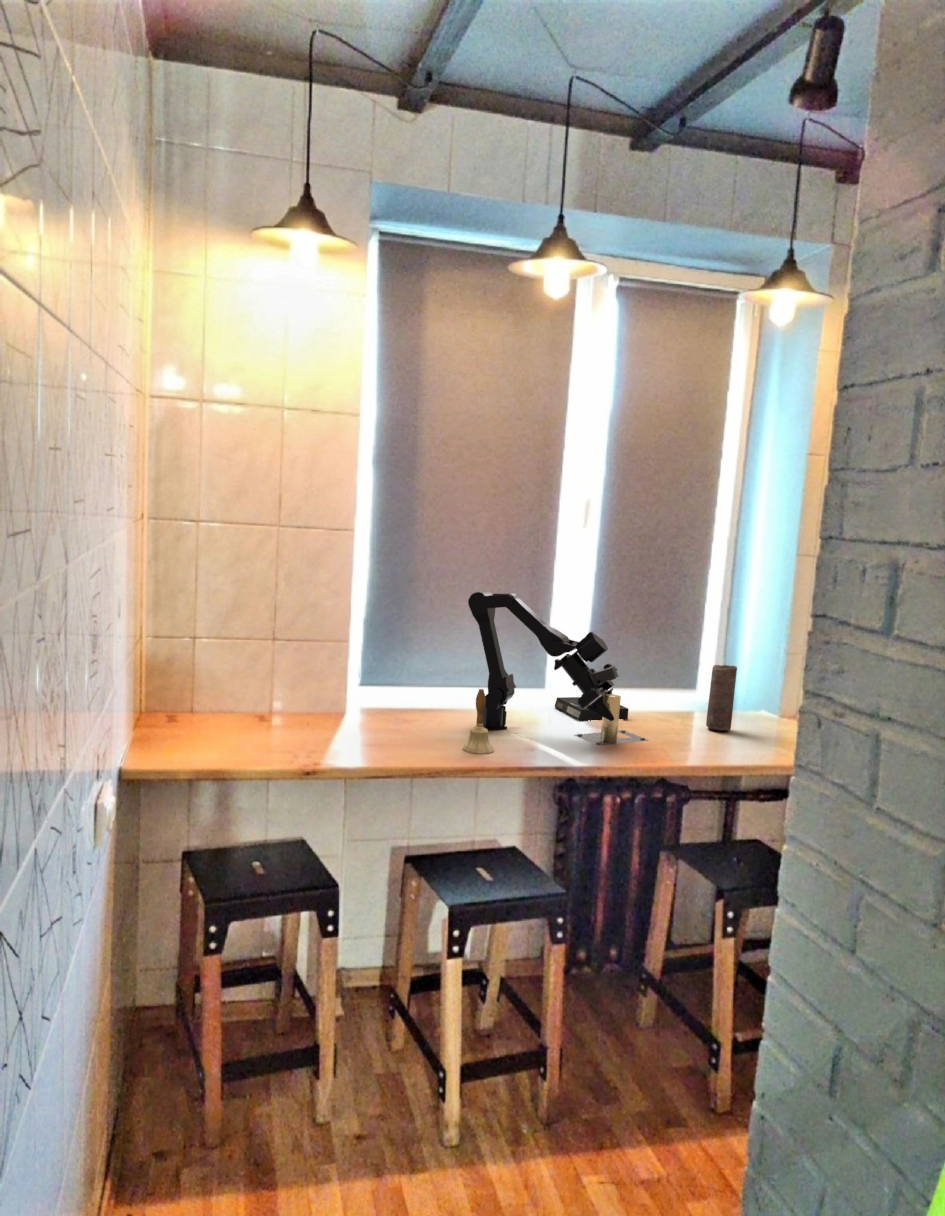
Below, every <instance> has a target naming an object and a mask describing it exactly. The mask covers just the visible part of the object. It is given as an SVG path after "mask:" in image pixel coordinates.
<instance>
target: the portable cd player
mask: <svg viewBox="0 0 945 1216" xmlns="http://www.w3.org/2000/svg"><path fill="white" fill-rule="evenodd" d="M580 697H581V696H576V697H575V696H574V697H568V696H567V697H565V696H564V697H556V699H555V704H554V708H555V709H556V710H558V711H559V710H560V711H559V712H561V711H562V713H564V714H565V713H566V714H565V715H567V716H569V717H571V716H572V717H571V718H572V719H575V720H576V719H577V721H578V720H579V722H592V721H591V720H598V721H602V717H603V716H601V715H599V714H597V713H595V712H593V711H591V710H589V709H586V708H587V707H588V706H589V704H588V705H587V706H586V707H584V708H583V709H581V707H580V706H579V705H578V699H579V698H580ZM621 719H624V720H623V721H626V720H625V719H629V708H628V707H626V706H624V705H622V704H620V710H619V720H621ZM588 720H590V721H588Z"/></svg>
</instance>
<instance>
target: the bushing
mask: <svg viewBox="0 0 945 1216" xmlns="http://www.w3.org/2000/svg"><path fill="white" fill-rule="evenodd" d="M621 699H622V697H621V696H620V695H619V694H613V693H612V694H605V703H606V705H607V706H608V708H609V710H610V711H611V713H612V715H613V717H614V720H613V721H610V720H608V719H606V718H604V717H602V720H601V731H600V732H601V741H603V742H607V743H616V742H617V739H618V733H619V732H618V731H619V720H620V719H619V710H620V705H621Z"/></svg>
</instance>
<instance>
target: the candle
mask: <svg viewBox="0 0 945 1216" xmlns="http://www.w3.org/2000/svg"><path fill="white" fill-rule="evenodd" d="M737 671H738V666H736V665H729V664H727V665H726V664H724V665H721V664H713V666H712V670H711V676H710V677H711V678H710V688H709V697H708V705H707V713H706V723H705V725H706V727H707V728H708V729H709V730H714V731H716V730H717V731H720V732H721V731H731V729H732V719H733V712H734V711H733V710H734V700H735V692H736V691H735V689H736V681H737V680H736V679H737V674H738V673H737Z"/></svg>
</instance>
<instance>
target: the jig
mask: <svg viewBox="0 0 945 1216" xmlns="http://www.w3.org/2000/svg"><path fill="white" fill-rule="evenodd" d="M618 733H620V734H622V735H625V736H628V737H624V738H617V742H616V743H607V742H603V741H601V731H600V732H590V733H577V734H573V736H574V737H577V738H579V739H582V740H584V741H586V742H589V743H591V744H593V745H596V746H607V745H617V744H627V743H636V742H637V743H638V742H648V741H650V740H649V739H647V738H645V737H642V736H639V735H637V734H634V733H631V732H629V731H626V729H625V730H624V729H621V730H618Z"/></svg>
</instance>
